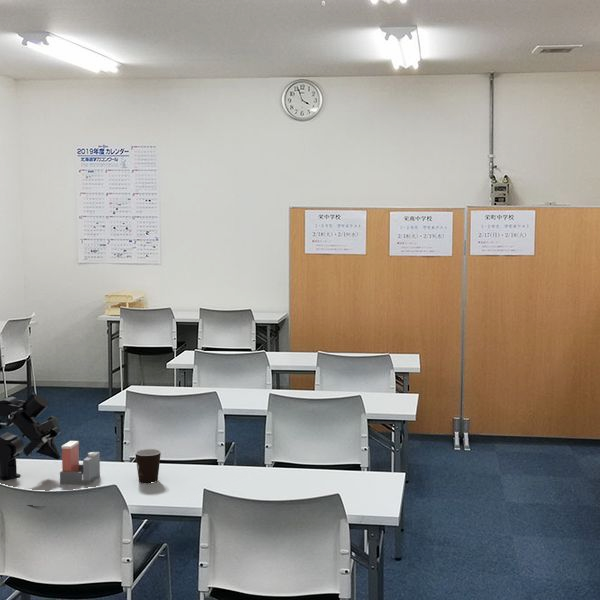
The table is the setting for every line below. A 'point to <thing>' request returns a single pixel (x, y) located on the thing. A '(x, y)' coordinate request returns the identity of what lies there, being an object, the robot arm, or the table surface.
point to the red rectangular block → (70, 456)
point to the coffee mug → (148, 465)
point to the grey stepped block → (83, 471)
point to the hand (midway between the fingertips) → (59, 458)
